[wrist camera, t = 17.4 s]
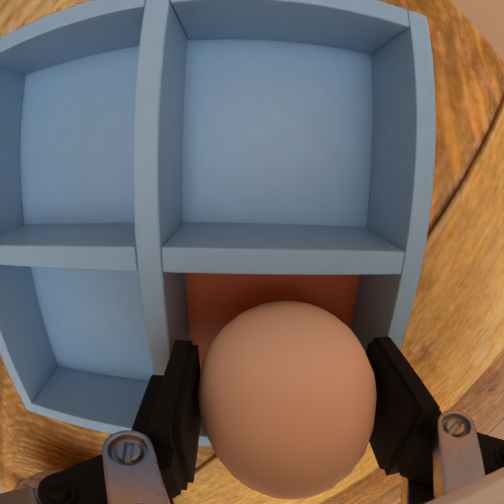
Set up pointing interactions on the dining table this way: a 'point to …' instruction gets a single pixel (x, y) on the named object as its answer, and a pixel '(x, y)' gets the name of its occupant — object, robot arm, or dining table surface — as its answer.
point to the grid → (203, 183)
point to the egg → (287, 399)
